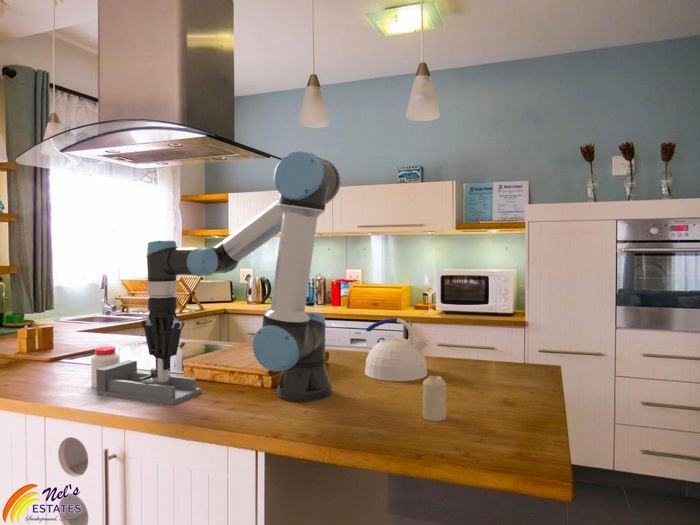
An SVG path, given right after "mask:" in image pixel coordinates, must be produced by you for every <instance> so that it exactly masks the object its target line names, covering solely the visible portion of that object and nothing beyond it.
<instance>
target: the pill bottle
mask: <svg viewBox="0 0 700 525" xmlns="http://www.w3.org/2000/svg"><path fill="white" fill-rule="evenodd" d="M90 363H91V364H90V365H91V366H90V368H91V372H90V374H91V375H90V376H91V387H92V388H95V389H97V374H96V369H100V368H103V367H107V366H110V365H114V364H117V363H121V359H120V355H119V354H118V353H117V352H116V347H115V346H102V347H96V348H95V349H94V354H93V356H91V358H90Z"/></svg>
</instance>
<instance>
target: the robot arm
mask: <svg viewBox="0 0 700 525" xmlns="http://www.w3.org/2000/svg"><path fill="white" fill-rule="evenodd" d="M273 182H274V186H275V188H276V190H277V191H278V194H279V195H278V200H275V201H274V202H273V203H272V204H270V205H269V206H268V207H267V208H265V209H264V210H263V211H261V212H260V213H258V214H257V215H256V216H254V217H253V218H252V219H250V220H249V221H247V223H245V224H244V225H242V226H241V227H240V228H238V229H237V230H236V231H234V232H232V234H231V235H228V237H226V238H225V239H224V240H222V241H220V243H218V244H217V245H216V246H213V247H211V246H209V247H199V246H198V247H177V243H176V241H175V240H158V239H157V240H154V239H153V240H149V241H148V243H147V252H146V264H147V295H148V296H149V297H148V298H147V310H148V311H149V313H148V317H147V318H146V319H144V320H141V326H142V327H143V330H144V335H145V339H146V340H145V341H146V344H147V349H148V350H147V351H148V354H149V356H154V358H155V368H156V369H158V382H165V381H167V380H169V372H170V371H169V369H170V370H171V357H173V356H177V354H178V349H179V343H180V339H181V333H182V329H183V327H184V326H185V322H184V321H180V320H179V319H178V316H177V314H176V310H177V309H178V307H177V306H178V301H177V299H178V298H177V297H176V295H177V276H192V277H193V276H196V277H206V276H207V277H209V276H211V275H213V274H226V273H229V272H233V271H234V270H235V269H236V268H237V267H238V264H239V262H240V261H242V260H243V259H244V258H246V257H248V256H249V255H250V254H251V253H253V252H254V251H256V250H257V249H259V248H260V247H261V246H263V245H264V244H266V243H267V242H268V241H270V240H271V239H273V238H274V237H276V236H277V235H278V234H279V235H280V236H279V241H278V242H279V243H278V251H277V259H276V265H275V266H276V267H275V272H274V280H273V289H272V295H271V296H272V297H271V303H270V307H269V308H267V310H265V311H264V313H263V318H262V323H261V324H262V325H261V327H260V328H259V329H258V330H257V331H256V333H255V334H254V336H253V339H252V344H251V345H252V351H253V355H254V357H255V359H256V360H257V361H258V362H259V364H260V365H261V366H262V367H263V368H265V369H266V370H269V371H272V372H281V374H280V378H279V381H278V385H277V388H276V391H277V396H278V397H279V398H280V399H282V400H286V401H290V402H291V401H292V402H313V401H319V400H323V399H327V398H328V397H330V396H331V395H332V393H333V392H332V389H333V388H332V382H331V379H330V377H329V373H328V370H327V367H326V327H327V325H326V320H325V319H326V317H325V315H324V314H323V313H322V312H306V303H307V296H308V290H309V283H310V282H309V281H310V274H311V267H312V260H313V254H314V253H313V252H314V248H315V239H316V233H317V232H316V230H317V223H318V218H319V216H321V215H322V214H323V213H325V210H326V205H327V204H328V203H329V202H331V201H332V200H333V199H334V198H336V196H337V194H338V193H339V190H340V187H341V175H340V173H339V171H338V169H337V167H336V166H335V165H334V164H333V163H331V162H330V161H328V160H326V159H324V158H321V157H319V156H317V155H316V154H314V153H311V152H307V151H306V152H305V151H292V152H290V153H288V154H286V155H285V156H284V157H283V158H282V159H281V160H280V161H278V163H277V165H276V167H275V168H274V174H273Z"/></svg>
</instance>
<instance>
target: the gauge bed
mask: <svg viewBox="0 0 700 525" xmlns="http://www.w3.org/2000/svg"><path fill="white" fill-rule="evenodd" d="M137 361H138V360H129V359H128V360H125V361H122V362H121V361H120V363H117V364H114V365H110V366H107V367H103V368H100V369H96V374H97V388H96V396H102V397H109V398H116V399H125V400H131V401H132V400H133V401H138V400H139V402H146V401H148V402H147V403H153V402H155V403H154V404H161V403H162V405H163V404H164V405H169V406H174V405H176V404H179V403H181V402H184V401H186V400H188V399H190V398H192V397H195V396H197V395H199V394H202V388H201V387H197V378H195V377H187V376H186V377H185V376H177V375H170V386H166V385H157V384H149V383H141V381H139V378H142V377H145V376H148V375H151V372H145V371H144V372H141V371H139V372H138V364H137V363H138V362H137Z"/></svg>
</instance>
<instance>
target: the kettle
mask: <svg viewBox="0 0 700 525" xmlns="http://www.w3.org/2000/svg"><path fill="white" fill-rule="evenodd" d="M389 323H399V324H401V325H403V326H404V327H405V328H406V329H407V331H408V338H407V339H406V338H404V337H396V336H394V337H388V338H384V337H380V338H378V339H377V342H376V343H377V344H375V345H374V346H373V347H372V348H371V350H370V351H369V352H368V355H367V357H366V359H365V370H364V373H365V375H366V376H367V377H369V378H371V379H375V380H379V381H385V382H410V381H413V382H414V381H417V380H421V379H423V378H425V377H427V376H428V370H427V369H428V368H427V360H426V357H425V355H424V353H423V352H422V350H423V349H424V348H425V347H427V346H428V345H429V341H428V340H427V339H426V337H424V336H420V337H419V338H418V339H417V340H416V341H414V340H415V333H414V329H413V326H411V325H410V323H408V322H407V320H405V319H401V318H388V319H386V318H385V319H382V320H379V321H376V322H374V323H373V324H371V325H369V326H368V327H367V328H366V329H365V331H366V332H371V331H372V330H374V329H375V328H377V327H379V326H382V325H385V324H389Z"/></svg>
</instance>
